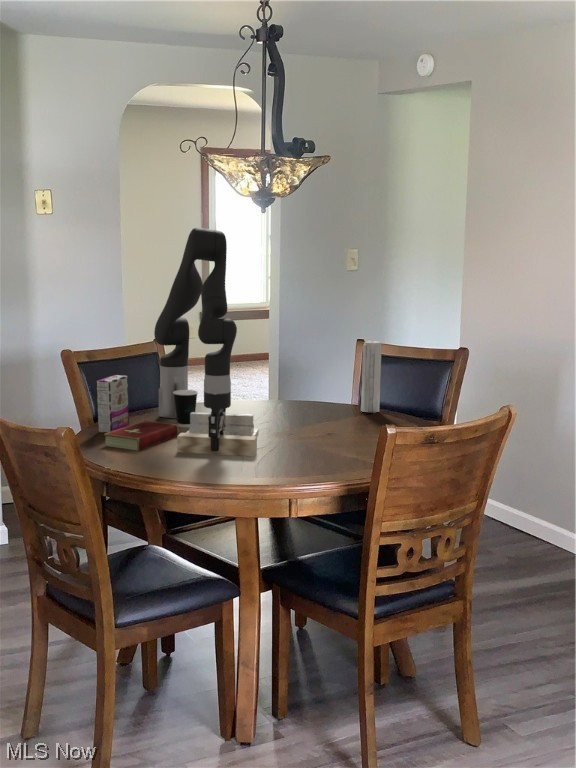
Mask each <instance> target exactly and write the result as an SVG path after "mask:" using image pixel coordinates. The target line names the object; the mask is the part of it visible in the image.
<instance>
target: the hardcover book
mask: <svg viewBox="0 0 576 768" xmlns="http://www.w3.org/2000/svg"><path fill="white" fill-rule="evenodd" d="M178 435H179V426H178V423H177V424H175V423H170V422H169V423H168V422H160V421H154V420H153V421H151V420H142V421H139V422H136V423H133V424H129V426H127V427H124V428H121V429H118V430H114V431H111V432H108V433H104V434H103V436H105V446H106V447H112V448H117V449H118V448H119V449H124V450H125V449H126V450H133V451H138V452H139V451H141V450H144V449H146V448H149V447H152V446H154V445H157V444H159V443H163V442H165V441H168V440H170V439H173V438H176V437H177V436H178Z"/></svg>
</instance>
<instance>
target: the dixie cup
mask: <svg viewBox="0 0 576 768" xmlns="http://www.w3.org/2000/svg"><path fill="white" fill-rule="evenodd" d="M173 394H174V399H175V407H176V416H177V418H176V423H177V426H178V428H189V424H190V413H191V412H196V407H197V398H198V394H199V392H198V391H197V390H193V389H188V390H177V391H174V392H173Z"/></svg>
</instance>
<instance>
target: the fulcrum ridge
mask: <svg viewBox="0 0 576 768" xmlns="http://www.w3.org/2000/svg"><path fill="white" fill-rule="evenodd" d="M209 414H211V412H202V411H201V412H197V411H195V412H191V413H190V424H189V427H188V428H189V429H188V430H187V431H186V432H185V433H197V434H209V420H208V417H209ZM225 425H226V427H225V430H224V431H223V432H224V435H235V436H255V437H257V438H258V435H259V428H255V423H254V414H252V413H244V414H243V413H227V412H226V422H225ZM213 433H216V431H215V430H213Z"/></svg>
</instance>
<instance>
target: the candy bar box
mask: <svg viewBox="0 0 576 768" xmlns="http://www.w3.org/2000/svg"><path fill="white" fill-rule="evenodd" d="M128 380H129V379H128V375H123V374H121V375H119V374H114V375H111V376H107V377H105V378H102V379H98V380H96V402H97V421H98V422H97V423H98V426H97V427H98V429H97V430H98V432H99V433H101V434H102V433H104V434H105V433H108V432H111V431H114V430H118V429H121V428H124V427H127V426H130V414H129V411H130V410H129V382H128Z"/></svg>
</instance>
